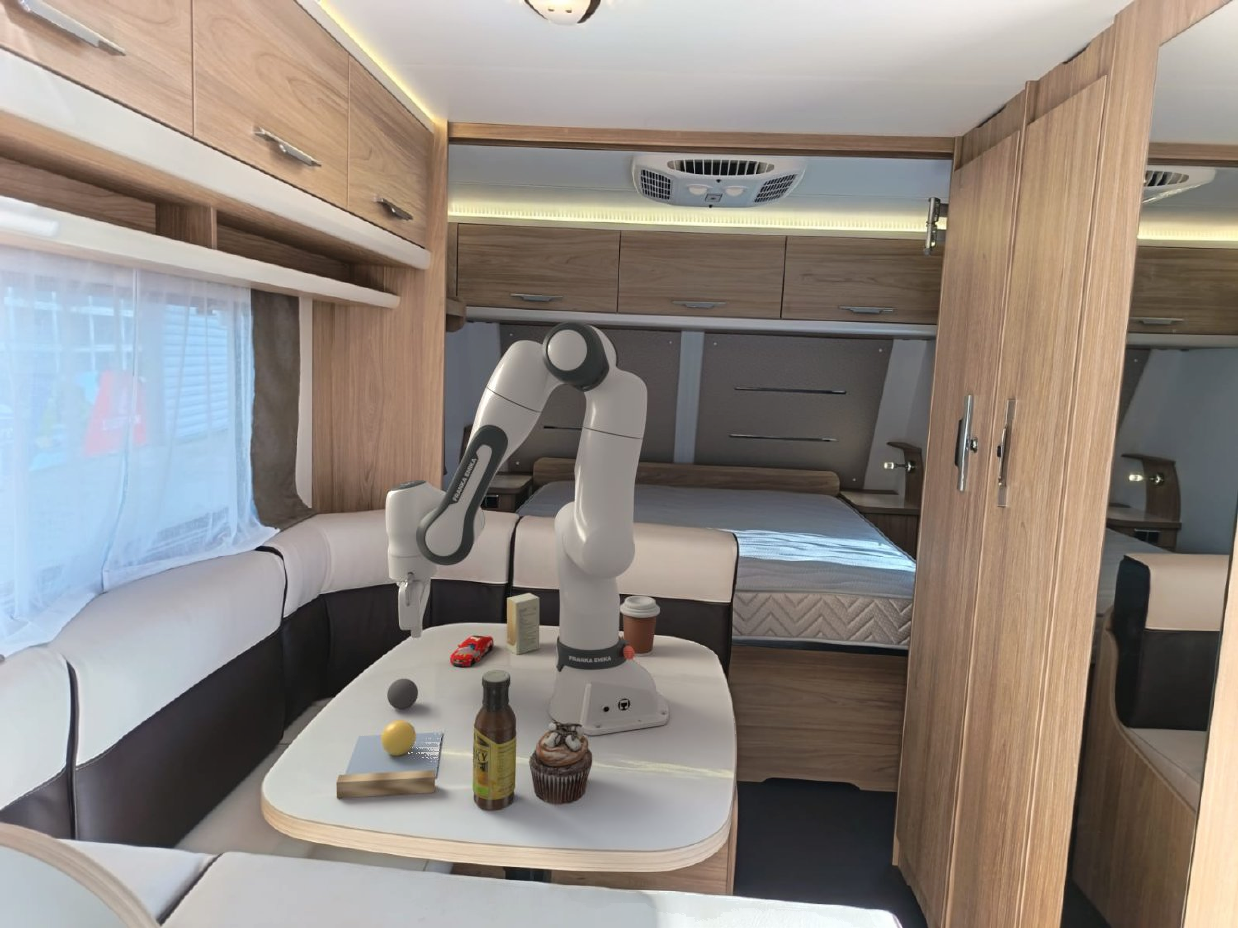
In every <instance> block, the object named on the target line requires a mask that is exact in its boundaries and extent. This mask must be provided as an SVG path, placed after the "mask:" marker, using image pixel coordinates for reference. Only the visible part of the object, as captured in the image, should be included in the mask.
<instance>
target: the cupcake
mask: <svg viewBox="0 0 1238 928" xmlns="http://www.w3.org/2000/svg"><path fill="white" fill-rule="evenodd" d="M547 729H548V732H546V733H544V734H543V735H542V737H541V738H540V739H539V740H538V742H537V743H536V746H535V749H534V750H533V751H534V752H533V753H532V755H531V756H529V758H528V759H529V761H528V763H529V770H530V774H531V778H532V784H533V790H534V794H535V796H536V797H537V798H538V799H539V800H540V801H542V802H544V803H548V804H550V805H551V804H552V805H566V804H567V805H568V804H572V803H574V802H577V801H578V800H580V799H581V798H583V796H584V795H585V793H586V788H587V782H588V778H589V775H590V771H591V769H592V766H593V754H592V751H591V750H590V749H589V740H588V739H587V738H586V736H585V735H584V734H585V733H584V729H583V728H582V725H580V724H576V723H566V724H561V723H560V722H557V721H556V720H554V722H550V723H549V725H548V728H547Z"/></svg>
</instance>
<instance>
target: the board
mask: <svg viewBox="0 0 1238 928" xmlns="http://www.w3.org/2000/svg"><path fill="white" fill-rule="evenodd" d="M415 733H416V732H415ZM435 733H436V735H435ZM438 733H441V734H440V735H439V734H438ZM442 733H443V731H442V732H441V731H440V732H419V733H416V740H415V742H416V743H414V745H413V748H411V750H410V751H408V752H409V753H410V754H408V752H407V753H405V754H403V755H400V756H394V755H391V754H389V753H387V752H386V751H385V750H384V748H383V746H382V743H381V736H382V734H377V735H375V734H374V735H359V736H358V738H357V740H356V744H355V746H354V749H353V752H352V754H351V757H350V760H349V762H348V765H347V767H346V770H345V773H344V775H348V774H367V773H386V772H405V771H425V770H435V779H436V778H437V775H436V774H437V772H438V768H439V761H438V760H439V759H440V754H439V755H437V756H436V755H431V756H430V754H429V756H428V755H427V754H426V753H424V754H421V752H433V751H434V750H433V751H431V750H430V748H429V750H430V751H429V750H428V749H427V748H423V749H422V748H421V749H420V748H419V747H438V745H437V744H436V743H435V744H434V743H431V744H428V743H427V744H426V743H425V742H441V743H442V741H441V740H440V738H442V739H443V734H444V733H443V734H442ZM426 738H427V739H426ZM429 738H431V739H429ZM437 738H439V739H437ZM422 742H423V743H422ZM416 747H417V748H418V749H417V748H416ZM439 747H442V745H441V746H440V744H439ZM432 749H433V748H432ZM411 752H413V753H411ZM418 752H420V754H419V753H418ZM434 752H440V753H441V750H440V751H434ZM416 753H417V754H416ZM425 755H426V756H425ZM422 757H424V758H422ZM426 757H428V758H429V759H428V758H426ZM430 757H431V758H432V759H431V758H430ZM433 757H439V758H435V759H434V758H433ZM437 759H438V760H437ZM431 761H432V762H431ZM435 761H436V762H435ZM437 761H438V762H437ZM437 767H438V768H437Z"/></svg>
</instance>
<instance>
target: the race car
mask: <svg viewBox="0 0 1238 928" xmlns="http://www.w3.org/2000/svg"><path fill="white" fill-rule="evenodd" d="M457 647H458V648H457V649H455V651H454V652H453V653H451V655H450V657H449V661H450V664H451V665H453V666H455V667H472V666H474V665H476V663H478V661H480V660H481V659H482V658H484V657H485V656H487V655H488V654H489V653H491V652H492V650H493V649H494V647H495V646H494V638H493V637H492V635H491V636H490V635H486V634H476V635H475V634H474V635H471V636H469V637H468V638H467V639H465V640H464V641H463V642H462V643H461V644H457Z"/></svg>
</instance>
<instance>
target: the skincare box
mask: <svg viewBox="0 0 1238 928" xmlns="http://www.w3.org/2000/svg"><path fill="white" fill-rule="evenodd" d="M506 619H507V620H506V634H507V635H506V637H507V638H506V639H507V640H506V643H507V644H506V646H507V647H506V649H507V650H509V651H510V652H512V653H513V654H515V655H517V656H518V655H521V654H525V653H528V652H531V651H534V650H538V649H540V597H539V596H537V595H534V594H532V593H531V592H527V593H523V594H518V595H513V596H510V597H507V598H506Z"/></svg>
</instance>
